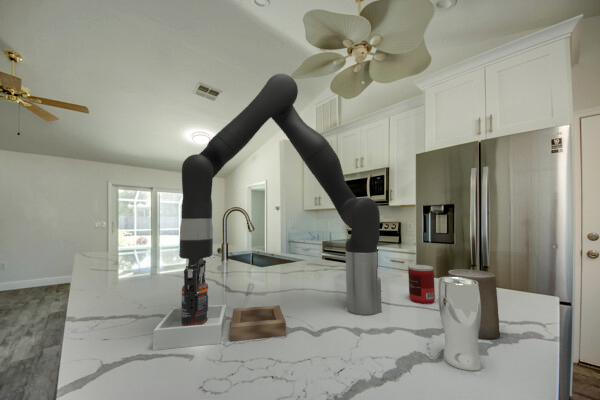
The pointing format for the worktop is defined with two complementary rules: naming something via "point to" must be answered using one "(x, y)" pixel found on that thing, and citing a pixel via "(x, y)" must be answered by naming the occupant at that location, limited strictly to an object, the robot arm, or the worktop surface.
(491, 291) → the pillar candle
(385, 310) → the worktop surface
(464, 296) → the beer glass
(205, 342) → the grey tray
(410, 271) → the canned food
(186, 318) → the supplement bottle
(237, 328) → the walnut collar
